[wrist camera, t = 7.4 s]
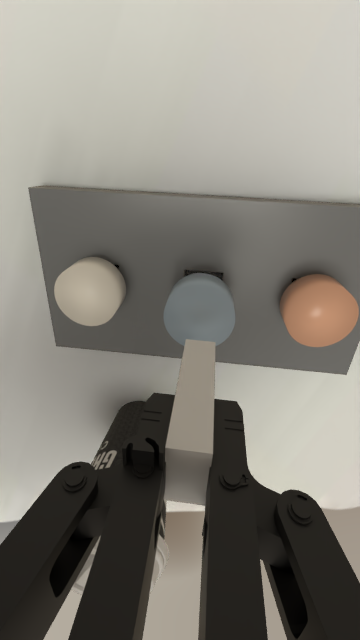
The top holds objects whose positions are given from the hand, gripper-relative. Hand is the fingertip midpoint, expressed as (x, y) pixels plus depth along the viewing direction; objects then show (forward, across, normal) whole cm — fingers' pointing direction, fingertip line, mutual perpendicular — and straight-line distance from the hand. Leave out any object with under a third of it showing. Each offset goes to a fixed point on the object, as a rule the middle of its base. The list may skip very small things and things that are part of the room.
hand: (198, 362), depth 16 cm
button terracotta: (+11, +8, 0) cm, 14 cm away
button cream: (+11, -9, 0) cm, 14 cm away
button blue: (+9, 0, 0) cm, 9 cm away
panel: (+12, 0, 0) cm, 12 cm away
